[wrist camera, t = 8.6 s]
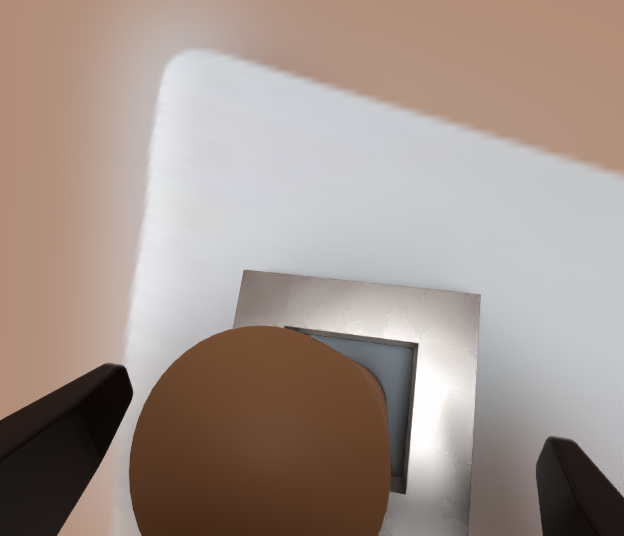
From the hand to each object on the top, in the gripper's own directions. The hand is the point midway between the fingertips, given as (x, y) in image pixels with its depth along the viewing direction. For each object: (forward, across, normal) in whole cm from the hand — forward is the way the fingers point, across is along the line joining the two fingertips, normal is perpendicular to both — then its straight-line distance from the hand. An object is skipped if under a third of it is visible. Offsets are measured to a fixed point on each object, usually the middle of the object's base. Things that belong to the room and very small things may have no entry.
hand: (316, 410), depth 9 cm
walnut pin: (+6, 0, +6) cm, 9 cm away
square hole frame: (+6, 0, +6) cm, 9 cm away
